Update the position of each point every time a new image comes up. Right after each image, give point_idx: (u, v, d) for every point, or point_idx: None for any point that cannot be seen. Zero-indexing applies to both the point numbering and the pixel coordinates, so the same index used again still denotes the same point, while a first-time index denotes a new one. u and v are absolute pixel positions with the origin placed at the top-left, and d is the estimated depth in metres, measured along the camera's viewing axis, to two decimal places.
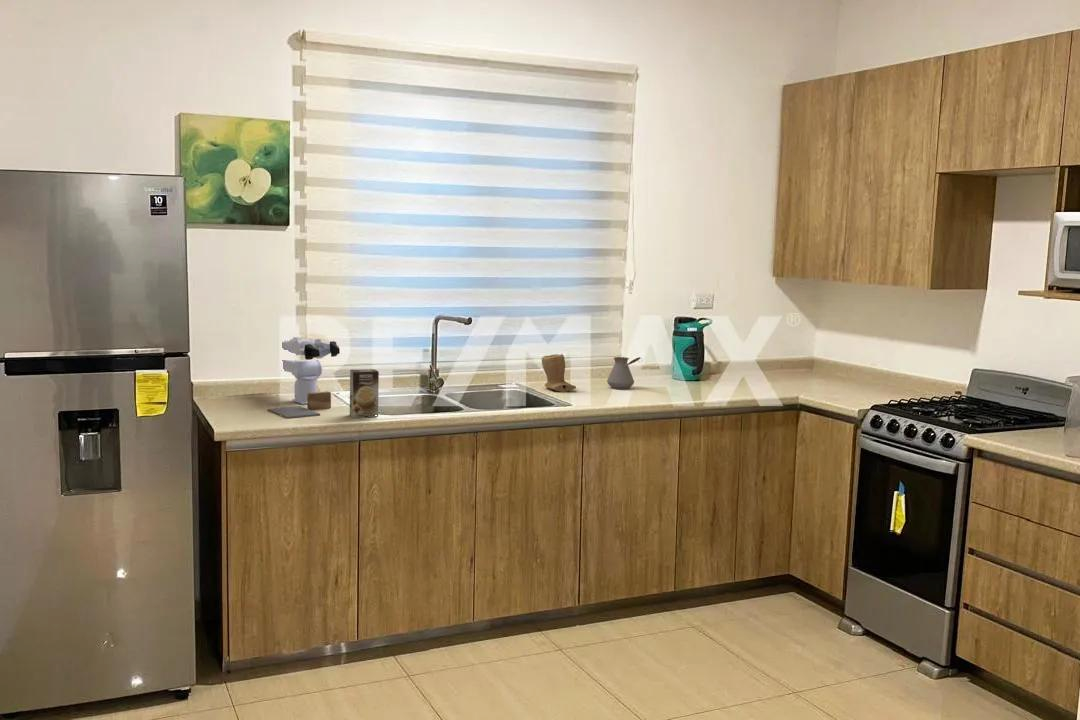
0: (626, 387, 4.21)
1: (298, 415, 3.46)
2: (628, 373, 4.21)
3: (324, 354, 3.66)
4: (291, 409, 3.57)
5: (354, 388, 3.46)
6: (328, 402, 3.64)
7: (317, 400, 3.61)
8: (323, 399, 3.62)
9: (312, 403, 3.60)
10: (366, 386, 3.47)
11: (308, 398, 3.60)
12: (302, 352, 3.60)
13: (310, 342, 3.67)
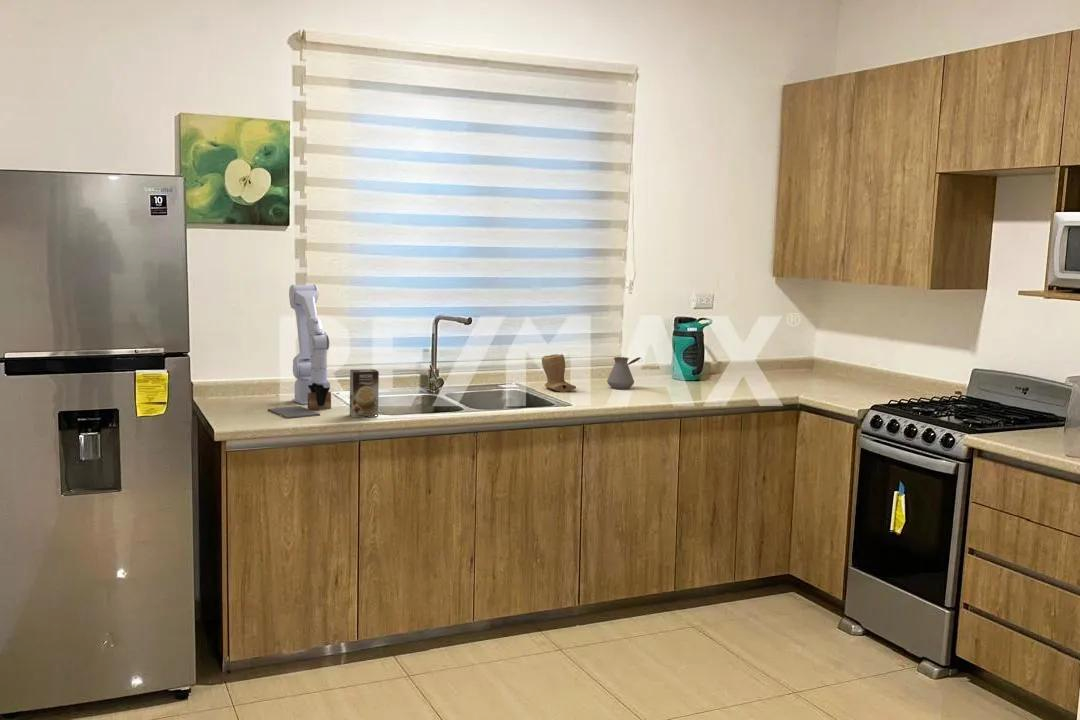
0: (626, 387, 4.21)
1: (298, 415, 3.46)
2: (628, 373, 4.21)
3: None
4: (291, 409, 3.57)
5: (354, 388, 3.46)
6: (328, 402, 3.63)
7: None
8: None
9: (312, 402, 3.60)
10: (366, 386, 3.47)
11: (308, 398, 3.60)
12: None
13: (310, 369, 3.61)
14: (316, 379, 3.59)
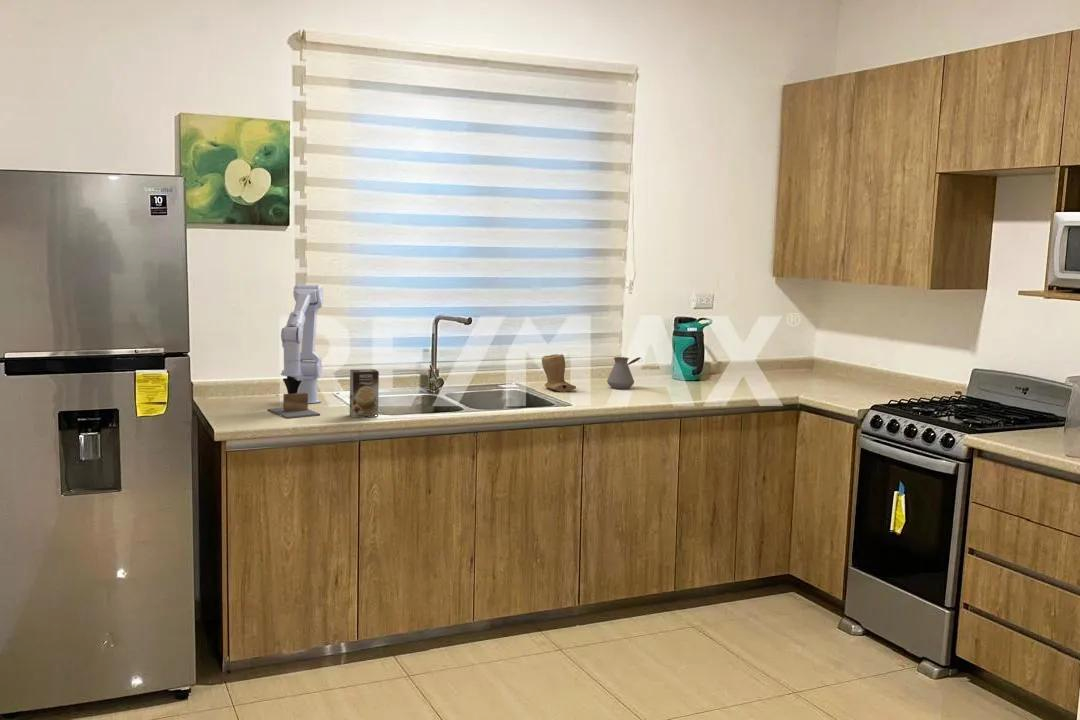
0: (626, 387, 4.21)
1: (298, 415, 3.46)
2: (628, 373, 4.21)
3: None
4: None
5: (354, 388, 3.46)
6: (305, 403, 3.56)
7: (293, 401, 3.53)
8: (300, 400, 3.55)
9: (288, 404, 3.52)
10: (366, 386, 3.47)
11: (284, 399, 3.53)
12: None
13: None
14: (289, 372, 3.53)
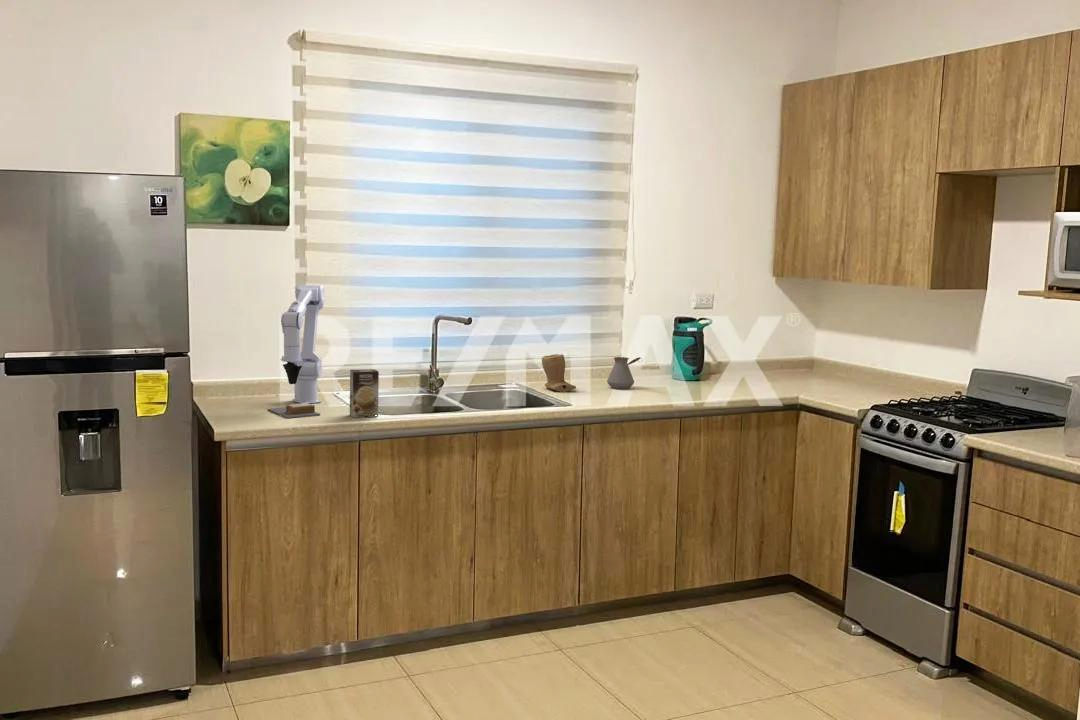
0: (626, 387, 4.21)
1: (298, 415, 3.46)
2: (628, 373, 4.21)
3: None
4: None
5: (354, 388, 3.46)
6: None
7: None
8: None
9: None
10: (366, 386, 3.47)
11: (290, 409, 3.49)
12: None
13: None
14: (289, 357, 3.52)
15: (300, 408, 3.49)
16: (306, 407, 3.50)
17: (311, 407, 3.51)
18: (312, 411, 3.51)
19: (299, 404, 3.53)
